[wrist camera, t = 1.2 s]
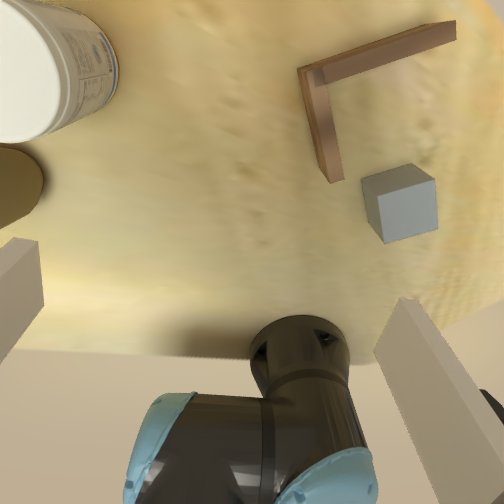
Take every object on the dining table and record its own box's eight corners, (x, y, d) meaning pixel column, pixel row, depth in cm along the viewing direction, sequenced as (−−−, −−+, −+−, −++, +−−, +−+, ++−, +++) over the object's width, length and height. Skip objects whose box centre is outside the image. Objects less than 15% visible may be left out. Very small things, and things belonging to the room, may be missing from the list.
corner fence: (431, 132, 41) (459, 144, 36) (319, 167, 42) (330, 183, 37) (424, 24, 36) (455, 20, 31) (296, 69, 37) (306, 72, 32)
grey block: (415, 208, 46) (438, 228, 40) (368, 221, 46) (384, 243, 41) (411, 163, 43) (435, 179, 37) (360, 178, 43) (377, 196, 38)
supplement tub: (8, 72, 37) (-116, 85, 24) (45, -19, 33) (-76, -61, 20) (96, 132, 40) (28, 172, 27) (139, 55, 36) (84, 58, 24)
